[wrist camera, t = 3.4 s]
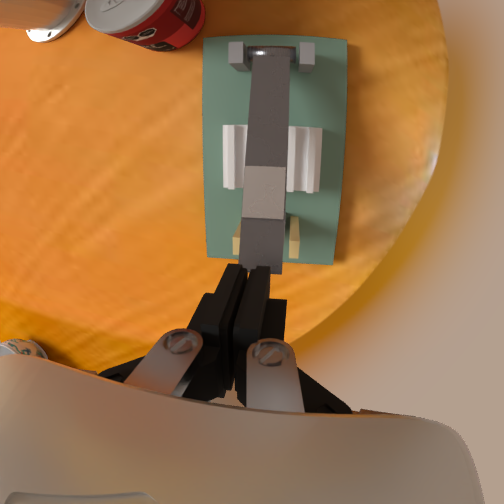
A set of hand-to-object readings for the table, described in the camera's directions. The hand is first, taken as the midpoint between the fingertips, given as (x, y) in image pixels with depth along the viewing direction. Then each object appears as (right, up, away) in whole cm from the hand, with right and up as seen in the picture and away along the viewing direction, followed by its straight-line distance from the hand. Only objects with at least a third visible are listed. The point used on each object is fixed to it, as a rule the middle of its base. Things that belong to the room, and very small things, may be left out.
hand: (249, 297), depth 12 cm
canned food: (-8, +27, +12) cm, 31 cm away
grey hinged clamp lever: (+1, +10, +10) cm, 14 cm away
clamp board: (+2, +12, +17) cm, 21 cm away
